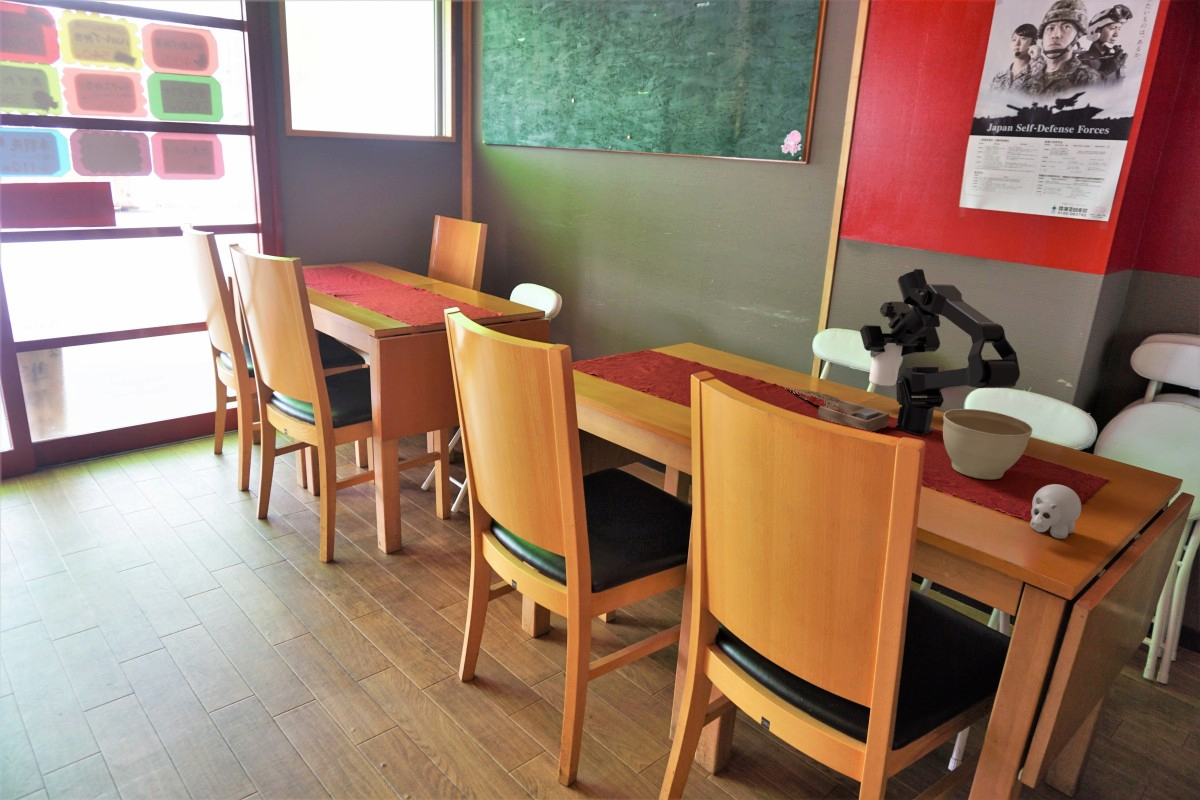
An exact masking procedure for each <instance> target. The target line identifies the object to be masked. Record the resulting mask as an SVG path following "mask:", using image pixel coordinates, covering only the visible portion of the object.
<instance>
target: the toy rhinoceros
mask: <svg viewBox="0 0 1200 800" xmlns="http://www.w3.org/2000/svg"><path fill="white" fill-rule="evenodd" d="M1031 504H1032V507H1031V510H1030V513H1031V517H1032V518H1031V520H1030V523H1029V526H1030V527H1031V528H1032V529H1033V530H1034V531H1035V532H1038V533H1045V532H1046V531H1049V533H1050V535H1051V536H1052V537H1053V538H1055V539H1058V540H1059V539H1060V540H1061V539H1066V538H1068V535H1069V534H1073V533H1074V532H1075V530H1076V529H1075V528H1076V523H1075V522H1076V520H1077V519H1078V518H1079V517H1080V515H1081V512H1082V503H1081V499H1080V497H1079V495H1078V494H1077V493H1076V492H1075V491H1074V489H1072V488H1070V487H1069V486H1065V485H1063V484H1056V483H1053V484H1047V485H1045V486H1042V487H1041V488H1040V489H1038V490H1037V491H1036V492H1035V494H1034V496H1033V497H1032V502H1031ZM1049 529H1050V530H1049Z"/></svg>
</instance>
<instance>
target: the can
mask: <svg viewBox="0 0 1200 800" xmlns="http://www.w3.org/2000/svg"><path fill="white" fill-rule="evenodd" d="M902 347H903V346H896V344H887V345H886V346H884V349H885V352H884V353H881V354H879V355H877V356H875V357H871V364H870V370H869V377H868V381H869V382H870V383H871V385H875V386H881V387H888V388H889V387H894V386H895V385H896V382H897V379H898V377H899V376H898V374H899V369H900V363H901V358H902V357H901V353H902Z"/></svg>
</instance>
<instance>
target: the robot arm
mask: <svg viewBox="0 0 1200 800" xmlns="http://www.w3.org/2000/svg"><path fill="white" fill-rule="evenodd" d="M897 284H898V288H899V290H900V295H901V297H902V300H903V301H894V300H893V301H892V300H891V301H888V302H887V301H885V302H884V303H883V304H882V305H881V306H880V308H879V313H880V315H881V316H882V317H883V318H888V320H889V322H888V327H889V329H891V330H890V333H887V332H884V333H883V330H882V327H881V325H879V324H864V325H863V326H862V327H861V329H860V330H859V333H860V336H861V337H860V338H861V340H862V344H863V347H864V348H863V349H865V350H866V351H867V352H870V353H869V355H870V358H873V357H875V356H877V355H879V354H881V353H884V352H885V349H884V346H886V345H887V344H896V346H903V347H902V353H901V358H902V357H907V356H911V355H916V354H922V353H926V352H927V353H928V352H932V353H933V352H936V351H938V350H939V348H940V347H941V340H940V336H939V334H938V333H939V332H938V330H937V328H940V326H941V321H940V316H942V317H945V319H947V320H948V321H950V322H951V323H952V324H954V325H955V326H956V327H958V328H959V329H960V330H962V331H963V332H964V333H965V334H967V335H969V336H970V337H971V338H970V339H971V343H972V344H971V347H970V351H969V352H968V356H967V362H968V365H967V367H962V368H957V369H949V370H943V371H939V366H913V367H910V368H908V367H907V368H906V367H905V368H904V371H901V372H900V373H899V376H897V381H896V384H895V385H896V387H895V388H896V402H897V403H898V405H900V407H899V409H898V415H897V419H896V425H894V428H895V429H896V430H897V429H898V430H900V431H904V432H907V433H908V434H909V433H910V434H913V433H915V434H914V435H916V434H917V435H916V436H924V435H926V434H928V433H930V432H933V431H934V428H933V427H931V426H932V421H933V416H934V411H935V408H941V407H942V405H943V403H944V397H943V393H942V391H941V390H949V389H956V388H966V387H970V388H977V389H1012V388H1014V387H1015V386H1016V385H1017V382H1018V381H1019V379H1020V376H1021V372H1020V365H1019V362H1018V357H1017V352H1016V351H1015V349H1014V348H1013V347H1012V345H1011V344H1010V342H1009V341H1008V339H1007V338H1006V333H1005V329H1004V327H1003V326H1002V325H1001V324H999V323H997V322H994V321H993V320H991V319H990V318H988V317H987V316H986V315H984V314H983V313H981V312H980V311H979V310H977V309H975V308H974V307H973V306H971V305H970V304H968V303H967V302H965V301H964V300H963V294H962V292H960V290H959V288H957V287H956V286H955V285H954V284H944V283H943V284H942V283H941V284H939V283H938V284H937V283H928V282H927V280H926V276H925V272H924V269H922V268H914V269H913V271H910V272H907V273H904V274H903V275H900V276H898V278H897ZM910 306H911V307H910ZM985 344H991V346H992V347H993V348H994V350H995V351H996V353H997V354H998V355H999V357H1000V358H1001V359H1000V358H999V359H997V358H993V359H992V358H991V359H990V358H989V359H988V358H983V355H982V352H983V350H984V347H985Z"/></svg>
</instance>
